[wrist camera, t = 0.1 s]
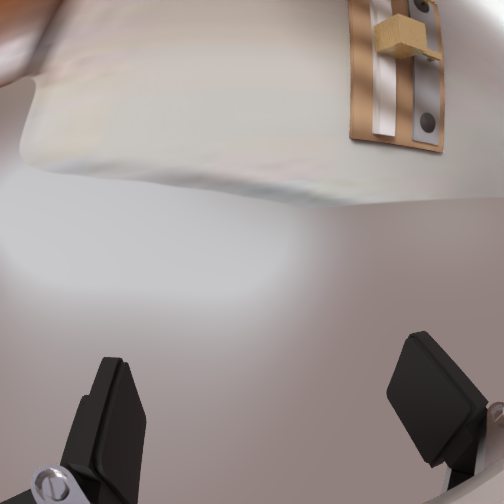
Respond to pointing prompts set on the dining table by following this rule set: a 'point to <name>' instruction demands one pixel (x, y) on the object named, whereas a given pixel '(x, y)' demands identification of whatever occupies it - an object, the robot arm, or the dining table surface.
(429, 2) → the fixed leg
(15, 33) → the dining table surface
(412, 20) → the block
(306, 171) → the dining table surface
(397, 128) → the board
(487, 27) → the dining table surface
